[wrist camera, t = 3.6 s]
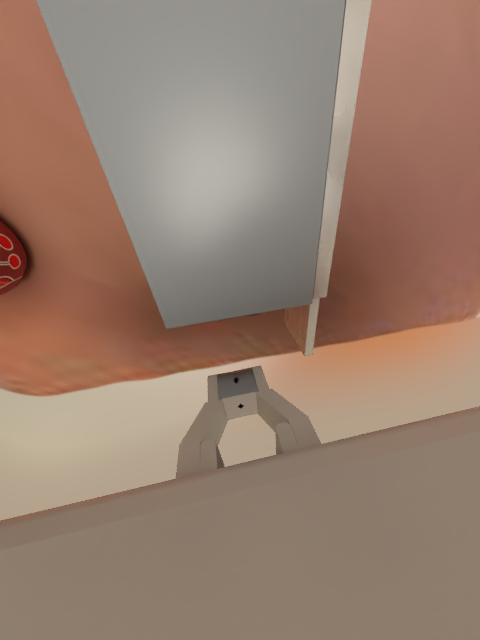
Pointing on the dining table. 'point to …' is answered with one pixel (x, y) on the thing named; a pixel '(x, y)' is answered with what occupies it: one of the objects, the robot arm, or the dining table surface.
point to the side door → (334, 166)
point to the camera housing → (210, 140)
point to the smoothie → (10, 259)
